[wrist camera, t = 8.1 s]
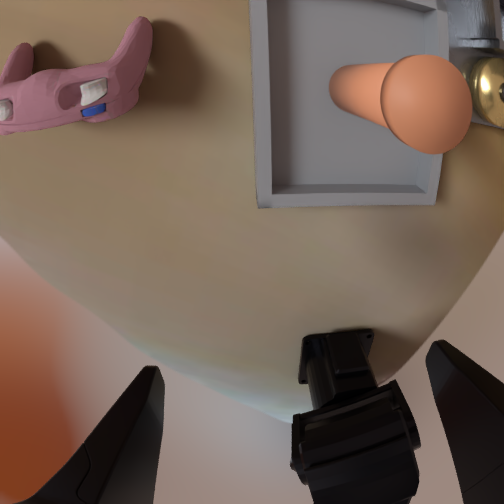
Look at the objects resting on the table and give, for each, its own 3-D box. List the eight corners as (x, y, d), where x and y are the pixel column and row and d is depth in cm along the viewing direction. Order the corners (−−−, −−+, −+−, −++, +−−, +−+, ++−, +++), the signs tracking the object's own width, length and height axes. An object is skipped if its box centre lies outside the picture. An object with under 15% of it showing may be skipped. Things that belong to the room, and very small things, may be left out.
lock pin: (379, 120, 17) (467, 158, 10) (323, 116, 17) (386, 150, 10) (381, 63, 15) (474, 66, 8) (323, 57, 15) (390, 45, 8)
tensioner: (517, 131, 18) (550, 146, 14) (436, 114, 17) (472, 125, 14) (517, 9, 12) (551, 9, 9) (432, -31, 12) (465, -42, 8)
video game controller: (35, 93, 17) (-15, 158, 13) (19, 40, 13) (-44, 97, 9) (163, 75, 17) (134, 141, 14) (158, 10, 14) (117, 53, 10)
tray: (419, 193, 20) (434, 205, 19) (255, 195, 20) (258, 208, 18) (428, 5, 14) (446, 1, 12) (247, -19, 13) (249, -30, 11)
